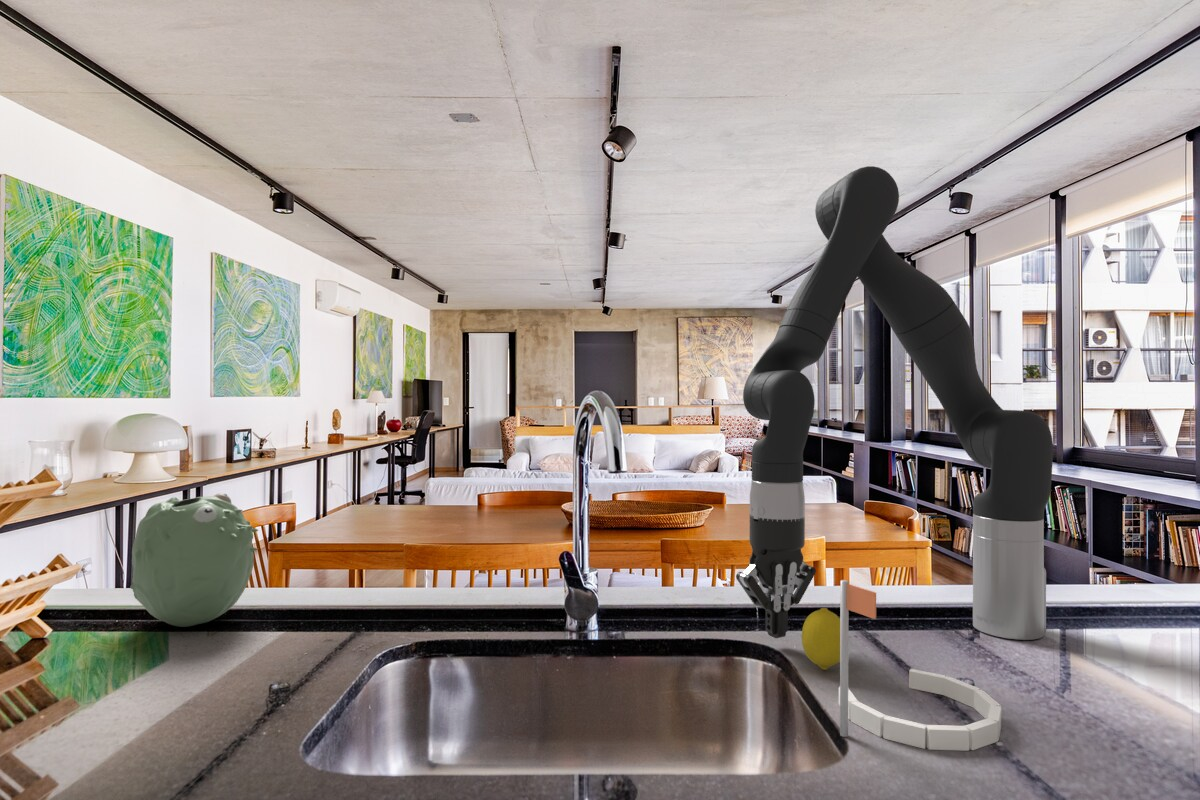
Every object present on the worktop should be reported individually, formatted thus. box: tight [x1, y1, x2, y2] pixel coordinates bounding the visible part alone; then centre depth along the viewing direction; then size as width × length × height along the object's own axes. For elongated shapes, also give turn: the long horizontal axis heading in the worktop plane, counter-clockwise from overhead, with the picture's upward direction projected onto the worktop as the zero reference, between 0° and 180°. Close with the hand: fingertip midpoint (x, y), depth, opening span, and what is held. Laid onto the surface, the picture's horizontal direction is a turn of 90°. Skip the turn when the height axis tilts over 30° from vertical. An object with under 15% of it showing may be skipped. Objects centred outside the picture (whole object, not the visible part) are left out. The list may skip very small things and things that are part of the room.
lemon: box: [801, 607, 840, 671], centre depth 90 cm, size 6×6×8 cm
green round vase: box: [129, 493, 259, 628], centre depth 107 cm, size 16×19×20 cm
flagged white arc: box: [838, 579, 1002, 752], centre depth 75 cm, size 19×14×16 cm
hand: (776, 635), depth 98 cm, fingers closed
